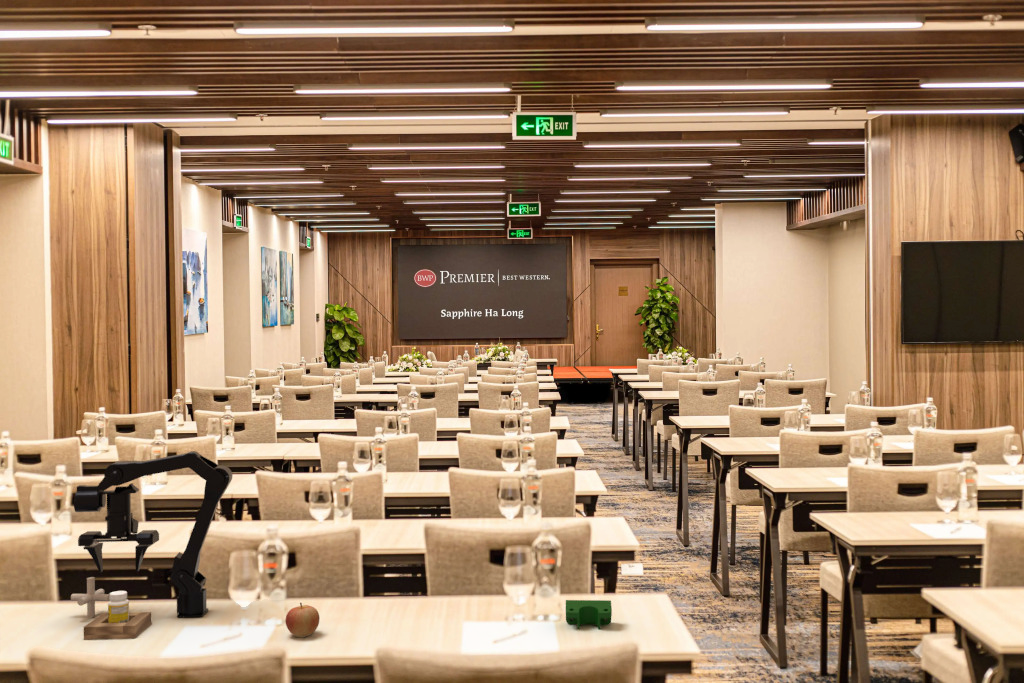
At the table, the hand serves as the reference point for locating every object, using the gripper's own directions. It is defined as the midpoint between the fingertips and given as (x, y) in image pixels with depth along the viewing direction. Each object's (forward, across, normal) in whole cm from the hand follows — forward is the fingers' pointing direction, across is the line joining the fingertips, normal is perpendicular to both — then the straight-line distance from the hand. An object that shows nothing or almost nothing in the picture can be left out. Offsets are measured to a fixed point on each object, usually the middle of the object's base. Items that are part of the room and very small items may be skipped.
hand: (119, 571), depth 247 cm
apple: (+12, -50, +19) cm, 55 cm away
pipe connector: (+12, +8, -2) cm, 15 cm away
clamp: (+12, -119, +18) cm, 121 cm away
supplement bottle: (+11, -4, +12) cm, 17 cm away
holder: (+12, -4, +12) cm, 17 cm away
